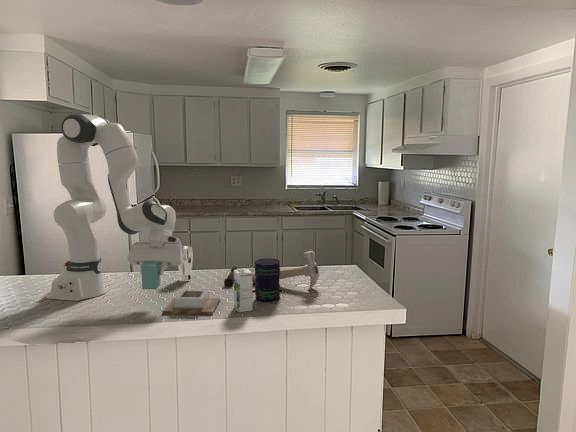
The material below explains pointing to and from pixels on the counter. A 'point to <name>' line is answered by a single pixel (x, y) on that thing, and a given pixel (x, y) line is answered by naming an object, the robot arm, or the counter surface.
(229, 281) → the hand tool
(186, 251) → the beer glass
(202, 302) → the socket
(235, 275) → the syrup box
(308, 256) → the hammer
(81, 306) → the counter surface
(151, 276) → the teal peg
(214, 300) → the walnut board
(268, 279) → the storage jar
